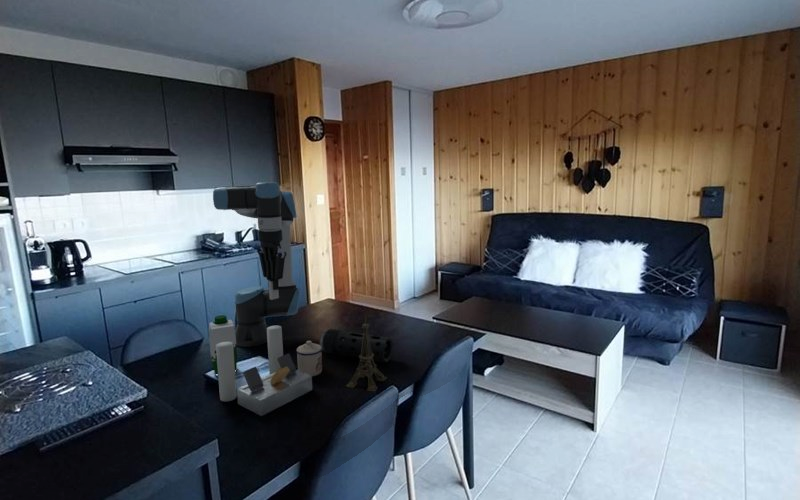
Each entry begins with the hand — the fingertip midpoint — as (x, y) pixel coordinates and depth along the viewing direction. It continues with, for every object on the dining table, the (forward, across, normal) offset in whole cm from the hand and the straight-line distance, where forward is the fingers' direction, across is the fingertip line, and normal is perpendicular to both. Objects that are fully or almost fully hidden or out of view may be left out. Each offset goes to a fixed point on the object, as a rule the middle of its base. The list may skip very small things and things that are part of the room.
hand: (274, 298), depth 147 cm
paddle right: (+24, +10, -2) cm, 26 cm away
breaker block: (+29, +10, -8) cm, 32 cm away
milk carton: (+30, -21, -8) cm, 37 cm away
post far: (+30, -2, +1) cm, 30 cm away
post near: (+29, -2, -18) cm, 34 cm away
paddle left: (+24, +10, -15) cm, 30 cm away
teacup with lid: (+30, +4, +11) cm, 32 cm away
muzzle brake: (+30, +9, +30) cm, 43 cm away
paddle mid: (+24, +10, -8) cm, 27 cm away
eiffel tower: (+30, +26, +17) cm, 43 cm away
